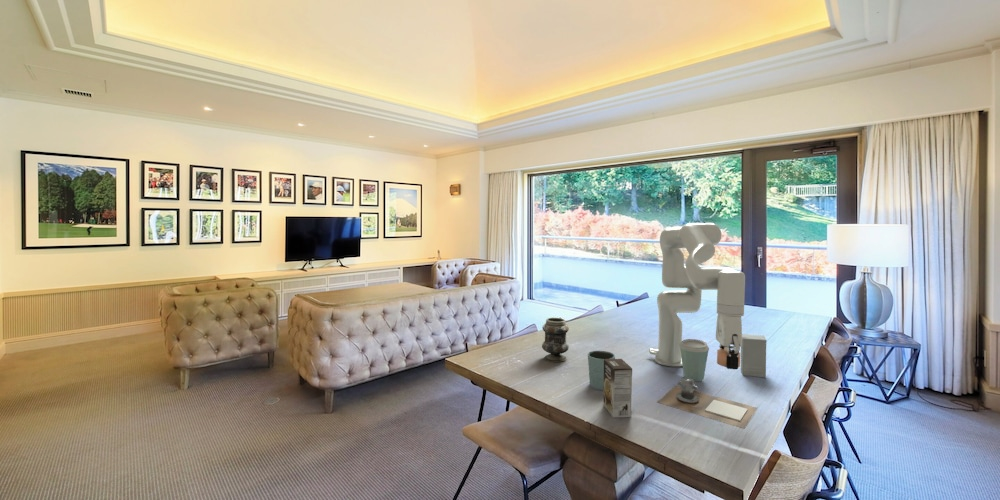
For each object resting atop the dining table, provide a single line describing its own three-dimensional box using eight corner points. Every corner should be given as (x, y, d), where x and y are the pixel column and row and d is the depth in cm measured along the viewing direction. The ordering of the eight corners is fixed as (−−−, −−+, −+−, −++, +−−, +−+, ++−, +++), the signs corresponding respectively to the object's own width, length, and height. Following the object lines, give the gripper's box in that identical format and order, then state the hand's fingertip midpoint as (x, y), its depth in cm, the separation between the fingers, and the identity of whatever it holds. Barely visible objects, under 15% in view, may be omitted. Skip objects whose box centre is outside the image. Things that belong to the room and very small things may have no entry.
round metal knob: (673, 399, 138) (673, 379, 137) (680, 393, 143) (680, 374, 142) (694, 406, 133) (695, 385, 133) (701, 399, 138) (702, 379, 138)
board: (656, 404, 136) (656, 402, 136) (675, 388, 149) (675, 385, 149) (744, 432, 119) (744, 428, 119) (757, 410, 132) (757, 407, 132)
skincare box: (763, 372, 164) (764, 334, 163) (766, 379, 158) (768, 339, 157) (739, 369, 168) (740, 332, 167) (741, 375, 161) (742, 337, 160)
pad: (704, 411, 130) (704, 409, 130) (713, 400, 137) (713, 399, 137) (740, 421, 123) (740, 420, 123) (747, 410, 130) (747, 408, 130)
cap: (714, 360, 132) (714, 345, 132) (735, 361, 131) (736, 347, 131) (720, 367, 126) (721, 352, 126) (743, 368, 125) (743, 353, 125)
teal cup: (599, 393, 146) (600, 360, 145) (581, 383, 155) (581, 352, 154) (620, 387, 151) (621, 356, 150) (601, 378, 159) (602, 348, 159)
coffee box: (602, 405, 136) (603, 358, 135) (620, 404, 137) (621, 357, 136) (612, 418, 127) (613, 368, 126) (631, 417, 128) (632, 367, 127)
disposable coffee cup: (706, 387, 150) (708, 348, 149) (675, 381, 156) (676, 343, 155) (709, 378, 159) (710, 340, 158) (679, 372, 165) (680, 336, 164)
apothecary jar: (572, 357, 184) (573, 318, 183) (562, 365, 174) (562, 324, 173) (548, 352, 191) (549, 315, 189) (537, 359, 181) (537, 320, 179)
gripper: (709, 303, 137) (707, 355, 138) (726, 314, 120) (724, 373, 121) (733, 304, 135) (732, 356, 136) (754, 316, 118) (751, 375, 119)
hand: (728, 364), depth 129 cm, fingers closed on cap, 6 cm apart
